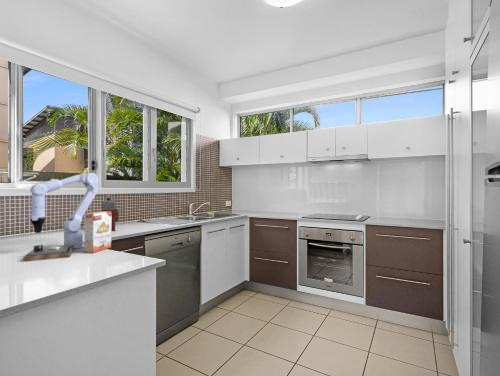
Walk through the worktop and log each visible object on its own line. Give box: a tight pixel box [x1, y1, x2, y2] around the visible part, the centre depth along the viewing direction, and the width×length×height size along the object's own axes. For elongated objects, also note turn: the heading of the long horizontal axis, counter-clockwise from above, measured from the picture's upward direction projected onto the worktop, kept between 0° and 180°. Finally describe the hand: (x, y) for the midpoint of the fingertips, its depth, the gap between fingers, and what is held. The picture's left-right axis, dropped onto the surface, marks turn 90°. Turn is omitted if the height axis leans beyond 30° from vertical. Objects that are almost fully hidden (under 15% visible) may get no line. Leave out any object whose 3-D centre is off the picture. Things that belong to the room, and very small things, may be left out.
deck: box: [28, 244, 71, 256], centre depth 139 cm, size 15×13×3 cm
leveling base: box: [23, 245, 75, 262], centre depth 139 cm, size 18×16×3 cm
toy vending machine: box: [101, 194, 119, 232], centre depth 212 cm, size 9×11×28 cm
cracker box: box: [83, 210, 112, 254], centre depth 151 cm, size 14×6×21 cm, turn 168°
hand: (38, 232), depth 144 cm, fingers closed
